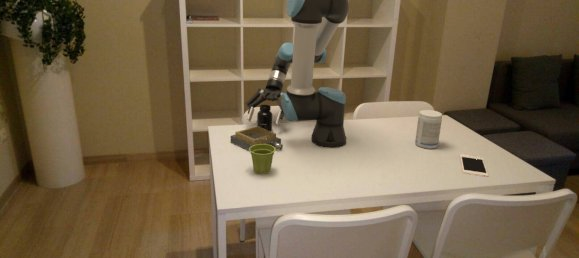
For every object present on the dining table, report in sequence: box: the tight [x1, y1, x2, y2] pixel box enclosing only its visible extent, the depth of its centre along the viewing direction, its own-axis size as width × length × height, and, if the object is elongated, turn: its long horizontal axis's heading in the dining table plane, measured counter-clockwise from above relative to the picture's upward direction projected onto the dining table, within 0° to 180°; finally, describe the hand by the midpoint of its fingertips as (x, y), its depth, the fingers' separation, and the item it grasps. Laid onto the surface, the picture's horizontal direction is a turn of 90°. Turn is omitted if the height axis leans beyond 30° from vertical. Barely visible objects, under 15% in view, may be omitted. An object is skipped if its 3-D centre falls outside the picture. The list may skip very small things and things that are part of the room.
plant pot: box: [248, 144, 276, 175], centre depth 157 cm, size 9×9×9 cm
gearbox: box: [230, 125, 283, 152], centre depth 181 cm, size 20×14×5 cm
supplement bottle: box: [256, 104, 273, 132], centre depth 195 cm, size 7×7×12 cm
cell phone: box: [459, 153, 489, 177], centre depth 170 cm, size 9×18×1 cm, turn 164°
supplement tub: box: [414, 109, 443, 150], centre depth 186 cm, size 10×10×15 cm
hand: (262, 122), depth 194 cm, fingers open, 13 cm apart
